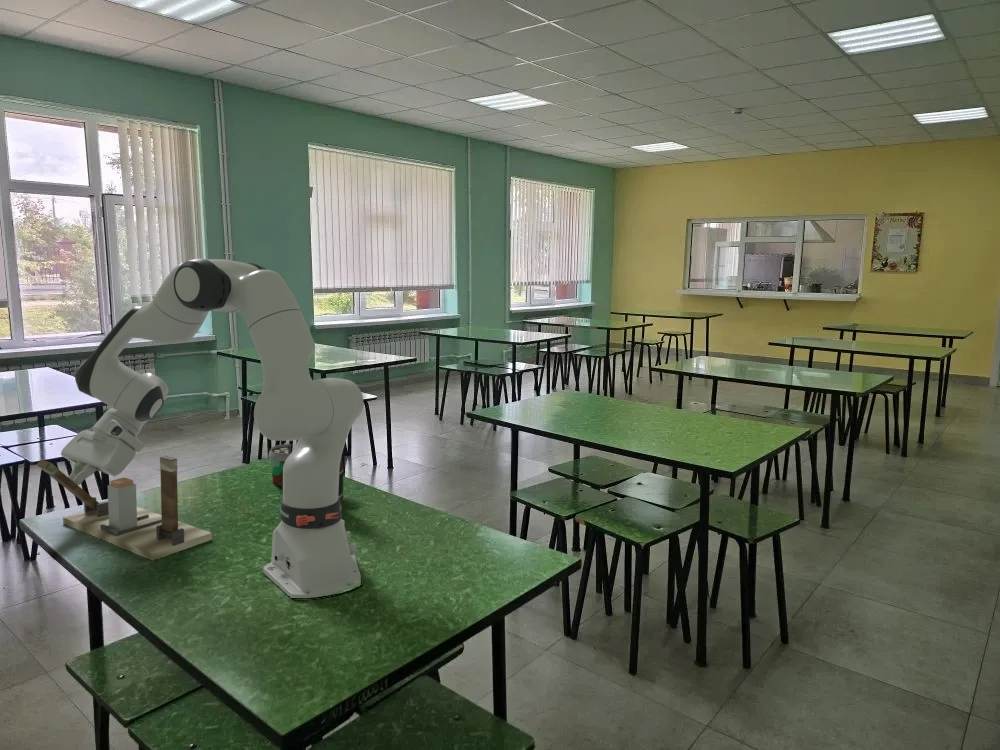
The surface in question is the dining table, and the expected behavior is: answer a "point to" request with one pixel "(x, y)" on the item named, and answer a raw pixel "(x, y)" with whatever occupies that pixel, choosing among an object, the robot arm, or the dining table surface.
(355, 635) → the dining table surface
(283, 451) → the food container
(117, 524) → the slider
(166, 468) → the brown lever
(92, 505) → the wooden stick
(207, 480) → the dining table surface
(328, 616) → the dining table surface
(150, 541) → the panel
